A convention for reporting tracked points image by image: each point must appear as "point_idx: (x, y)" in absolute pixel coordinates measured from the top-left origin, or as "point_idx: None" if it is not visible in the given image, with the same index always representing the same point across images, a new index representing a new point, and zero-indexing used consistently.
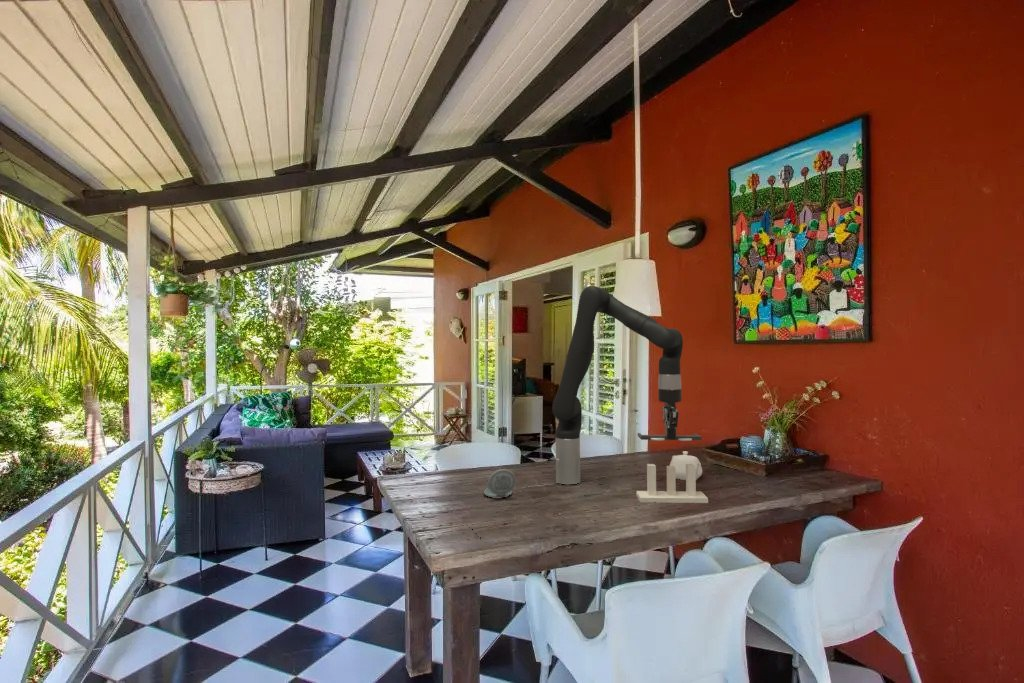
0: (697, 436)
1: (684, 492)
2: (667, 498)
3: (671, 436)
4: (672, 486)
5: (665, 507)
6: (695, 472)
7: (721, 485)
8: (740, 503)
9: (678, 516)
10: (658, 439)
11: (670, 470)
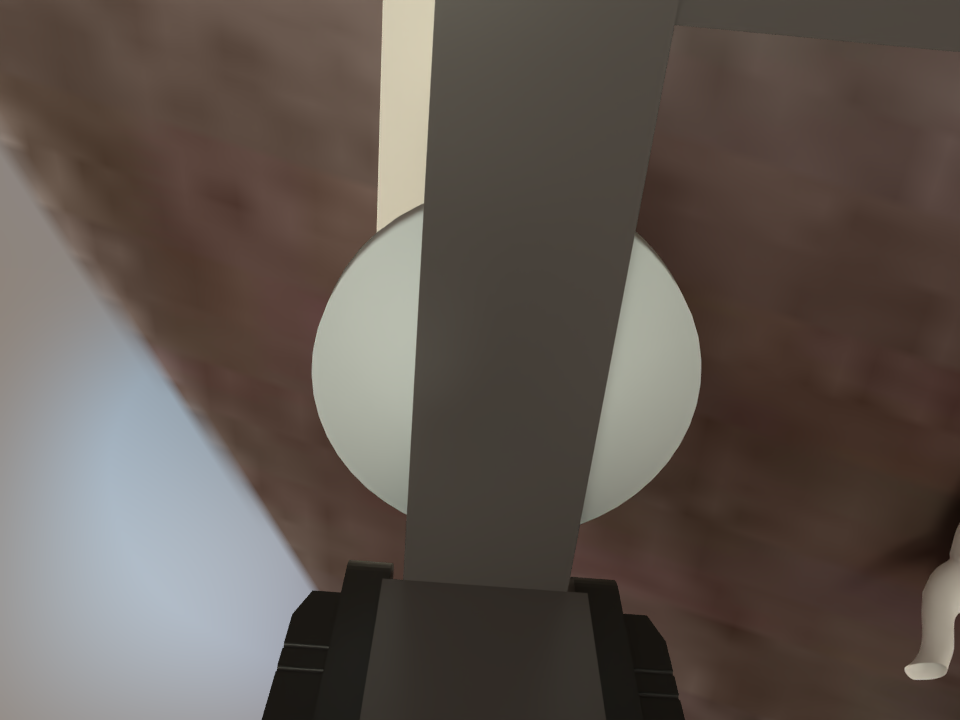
0: None
1: None
2: (379, 164)
3: (293, 642)
4: None
5: (248, 94)
6: (929, 587)
7: (772, 647)
8: None
9: (19, 130)
10: (317, 362)
11: None
